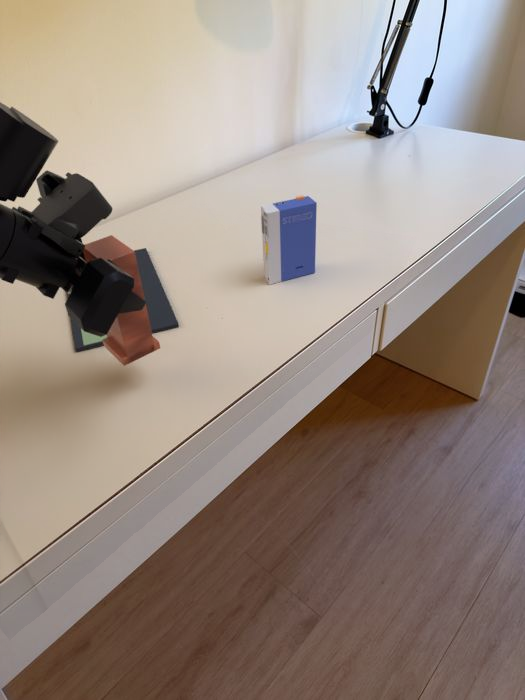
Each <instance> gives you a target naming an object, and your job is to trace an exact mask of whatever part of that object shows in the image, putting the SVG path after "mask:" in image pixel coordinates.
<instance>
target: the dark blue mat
mask: <svg viewBox="0 0 525 700" xmlns="http://www.w3.org/2000/svg"><path fill="white" fill-rule="evenodd" d="M133 251H134V252H135V256H136V261H137V266H138V270H139V275H140V280H141V284H142V289H143V294H144V298H145V301H146V308H147V313H148V317H149V322H150V327H151V331H152V334H156V333H160V332H164V331H168V330H171V329H175V328H179V327H180V325H179V322H178V319H177V317H176V315H175V312H174V310H173V308H172V305H171V303H170V300H169V298H168V295H167V294H166V291H165V289H164V287H163V284H162V282H161V280H160V277H159V275H158V273H157V271H156V267H155V265H154V263H153V261H152V258H151V256H150V254H149V251H148V250H147V247H144V248H140V249H135V250H133ZM65 293H66V292H65ZM65 295H66V300H67V299H68V297H69V295H70V294H69V293H66V294H65ZM69 318H70V317H69ZM70 326H71V332H72V340H73V345H74V351H75V353H79V352H82V351H87V350H91V349H94V348H99V347H102V346H103V347H104V344H103V341H102V339H105V338H107V335H104V336H102V337H99V336H96V335H93V334H90V333H87V332H84V331H83V330H82V329H81V328H80V327H79V326H78V325H77V324H76V323H75V322H74V321H73V320H72V319H71V318H70Z"/></svg>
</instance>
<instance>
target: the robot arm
mask: <svg viewBox="0 0 525 700" xmlns="http://www.w3.org/2000/svg"><path fill="white" fill-rule="evenodd" d="M58 143H59V140H58V139H57V138H56V137H55V136H54V135H53V134H52V133H50V131H47V130H46V129H45V128H44V127H42V126H41V125H40V124H38V123H37V122H35V121H34V120H33V119H31V118H30V117H29V116H27V115H26V114H24V113H23V112H21V111H20V110H18V109H16V108H15V107H13V106H10V107H9V106H7V105H5V104H4V103H3V102H1V101H0V201H1V202H7V201H10V202H16V200H17V198H22V199H23V198H25V197H26V196H27V195H28V192H29V191H30V189H31V188H32V186H33V184H34V183H35V181H36V185H37V188H38V192H39V195H40V196H39V197H38V198H37V201H38V202H39V204H38V205H37V206H36V207H35V208H34V209H33V210H32V211H30V210H28V209H26V208H24V207H22V206H18V207H15V206H12V208H11V207H8V206H6V205H4V204H2V203H0V280H1V281H4V282H6V283H9V284H11V285H13V284H14V283H15V281H19V282H22V283H24V284H27V285H30V286H32V287H35V288H36V289H37V290H38V291H39V292H40V293H41V294H42V296H44V297H46V298H49V299H51V300H54V299H55V297H56V295H57V293H58V291H59V290H60V288H61V289H62V290H63V291H64V292H65V293H69V294H70V295H69V297H68V299H67V298H66V301H65V303H64V307H65V310H66V312H67V316H68V317H69V318H71V319H72V320H73V321H74V322H75V323H76V324H77V325H78V326H79V327H80V328H81V329H82V330H83V331H84V332H87V333H90V334H93V335H96V336H99V337H102V336H104V335H107V333H108V331H109V330H110V328H111V326H112V324H113V323H114V321H115V319H116V317H117V316H118V314H121V313H127V312H133V311H140V310H142V309H143V307H144V306H145V304H146V301H145V300H144V299H142V298H141V297H139V296H138V295H137V294H135V293H134V292H133V291H132V289H133V287H134V278H133V277H132V276H130V275H129V274H128V273H126V272H125V271H124V270H122V269H121V268H120V267H118V266H117V265H116V264H115V263H113V262H112V261H111V260H109V259H108V260H105V259H103V258H98V259H95V260H90V261H89V262H88V263H87V262H86V260H85V257H84V253H83V250H84V248H85V243H83V239H82V238H84V237H85V236H86V235H87V234H88V233H90V231H91V230H92V229H94V228H95V227H96V226H97V225H98V224H99V223H100V222H102V221H103V220H106V219H108V218H109V217H110V216H111V215H112V212H113V206H112V205H111V203H109V201H108V200H107V199H106V198H105V196H104V195H103V194H102V192H101V191H100V190H99V188H98V187H97V186H96V185H95V183H94V181H91V180H90V179H88V178H86V177H84V176H83V175H81V174H80V173H77V172H76V173H71V172H69V171H68V172H67V173H65V176H66V178H65V177H63V176H61V175H60V174H56V173H54V172H53V171H51V170H45V171H44V172H43V173H41V171H42V170H43V169H44V166H45V165H46V163H47V161H48V160H49V158H50V157H51V155H52V153H53V152H54V150H55V148H56V147H57V145H58ZM40 173H41V174H40Z"/></svg>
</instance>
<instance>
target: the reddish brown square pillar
mask: <svg viewBox="0 0 525 700" xmlns="http://www.w3.org/2000/svg"><path fill="white" fill-rule="evenodd" d="M84 245H85V248H84V250H83V253H84V257H85V260H86V262H87V263H88V262H89V261H90V260H95V259H98V258H103V259H105V260H108V259H109V260H111V261H112V262H113V263H115V264H116V265H117V266H118V267H120V268H121V269H122V270H124V271H125V272H126V273H128V274H129V275H130V276H132V277H133V278H134V287H133V289H132V291H133V292H134V293H135V294H137V295H138V296H139V297H141V298H142V299H144V300H145V298H144V294H143V289H142V284H141V280H140V275H139V270H138V266H137V261H136V256H135V252H134V250H133V249H132V248H131V247H130V246H128V245H127V244H125V243H123V242H122V241H121V240H119V239H118V238H117V237H116V236H114V235H113V234H111V235H108V236H104V237H102V238H99V239H96V240H94V241H91V242H89V243H84ZM102 341H103V344H104V345H103V347H104V348H105V349H106V350H107V351H108V352H109V353H110V354H112V355H113V357H114V358H115V359H116V360H117V361H118V362H119V363H120V364H122V366H123V367H126V366H128V365H129V364H131V363H134V362H136V361H138V360H140V359H142V358H143V357H146V356H148V355H150V354H152V353H153V352H155V351H158V350H159V349H161V344H160V341H159V340H158V339H156V338H155V337H154V335H153V333H152V331H151V327H150V322H149V317H148V313H147V308H146V304H145V306H144V307H143V309H142V310H140V311H133V312H127V313H121V314H118V316H117V317H116V319H115V321H114V323H113V324H112V326H111V328H110V330H109V331H108V333H107V338H105V339H102Z"/></svg>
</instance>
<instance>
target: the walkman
mask: <svg viewBox="0 0 525 700" xmlns="http://www.w3.org/2000/svg"><path fill="white" fill-rule="evenodd" d="M317 203H318V202H316V201H315V199H313V198H312V197H310V196H309V195H306V196H305V195H304V194H303V195H298V196H295V198H293V199H288V200H287V199H286V200H281V201H279V202H278V201H277V202H273V203H268V204H264V205H260V214H261V215H260V223H261V236H262V237H261V239H262V257H263V258H262V260H263V261H262V262H263V276H264V278H265V281H266V282H267V283H268V284H269V285H273V284H278V283H281V282H285V281H288V280H292V279H296V278H300V277H304V276H308V275H311V274H315V273H316V249H317V246H316V244H317V207H318V205H317Z"/></svg>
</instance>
